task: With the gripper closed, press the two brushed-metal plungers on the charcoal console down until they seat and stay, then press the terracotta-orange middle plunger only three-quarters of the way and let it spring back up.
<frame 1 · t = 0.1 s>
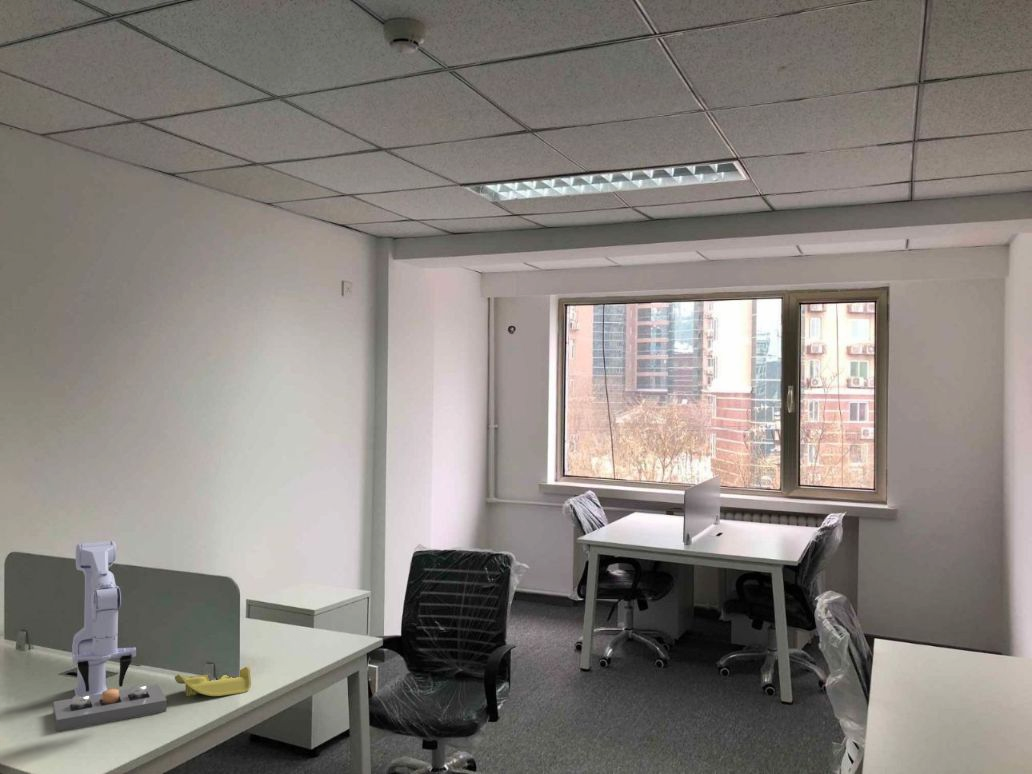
hand: (104, 687, 207), 10 cm above the table, fingers open, 7 cm apart
console: (110, 712, 216), on the table
orange plunger: (110, 696, 216), point 4 cm above the table, slide at 0.0 cm
plunger a: (138, 691, 220), point 4 cm above the table, slide at 0.0 cm
plunger b: (81, 701, 212), point 4 cm above the table, slide at 0.0 cm
plastic component: (212, 692, 232), on the table
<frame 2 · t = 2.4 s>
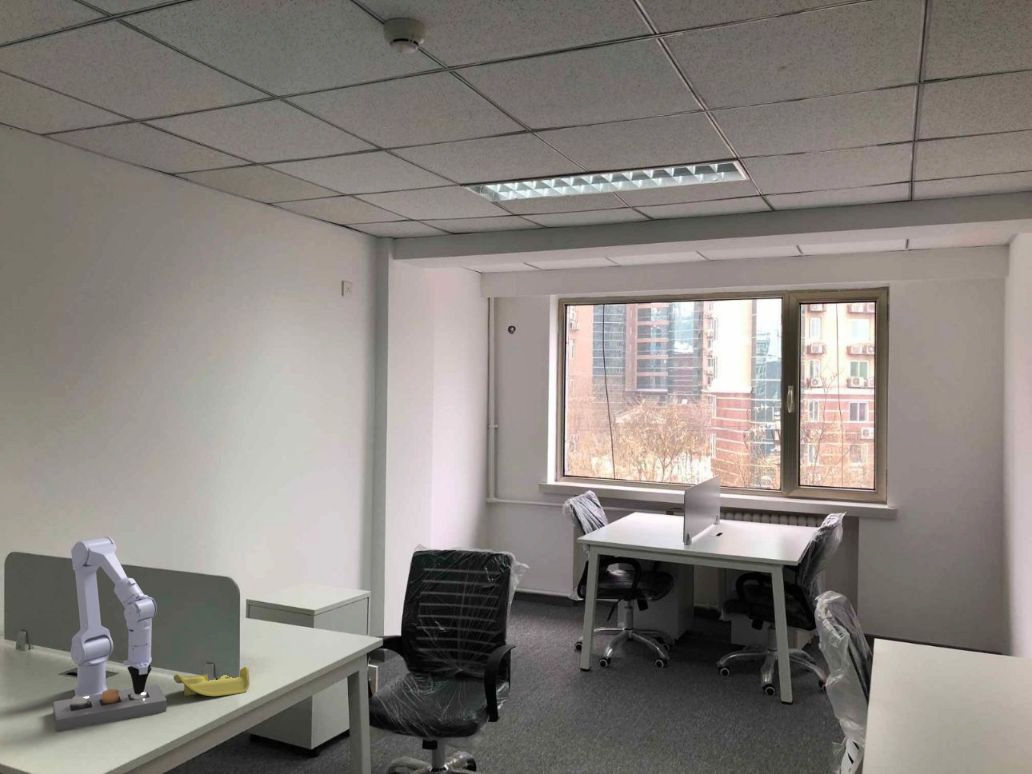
hand: (138, 692, 220), 4 cm above the table, fingers closed, pressing on plunger a
plunger a: (138, 697, 220), point 3 cm above the table, slide at 1.6 cm, touching gripper
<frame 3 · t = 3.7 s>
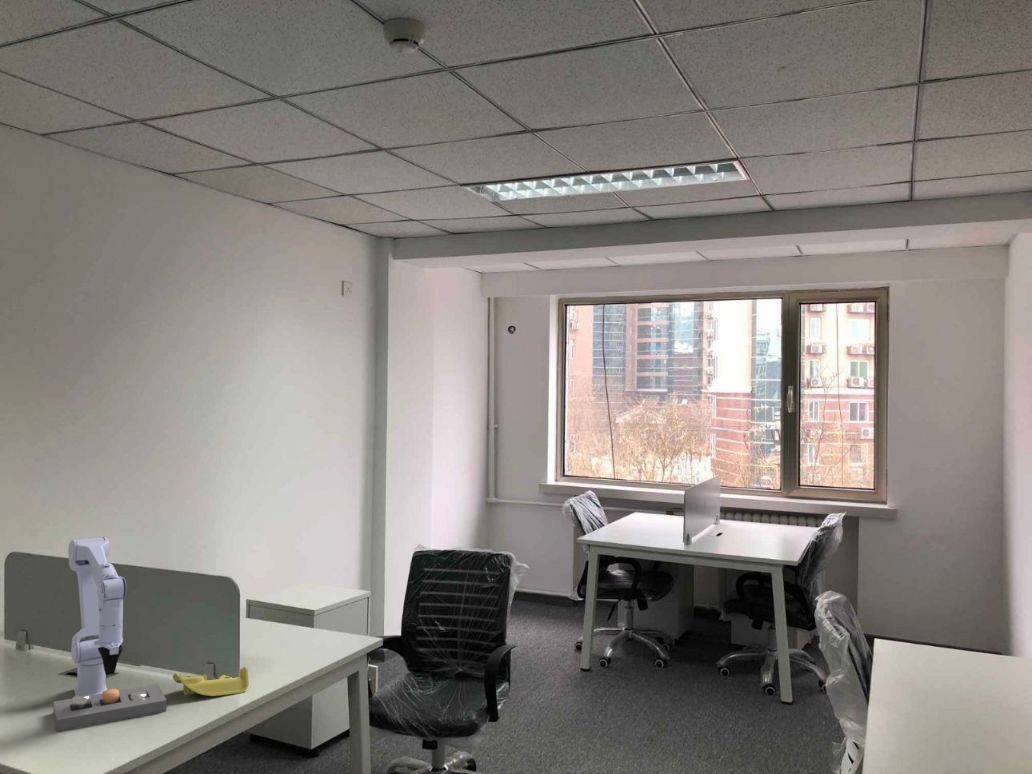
hand: (109, 673, 216), 10 cm above the table, fingers closed
plunger a: (138, 698, 220), point 2 cm above the table, slide at 2.0 cm
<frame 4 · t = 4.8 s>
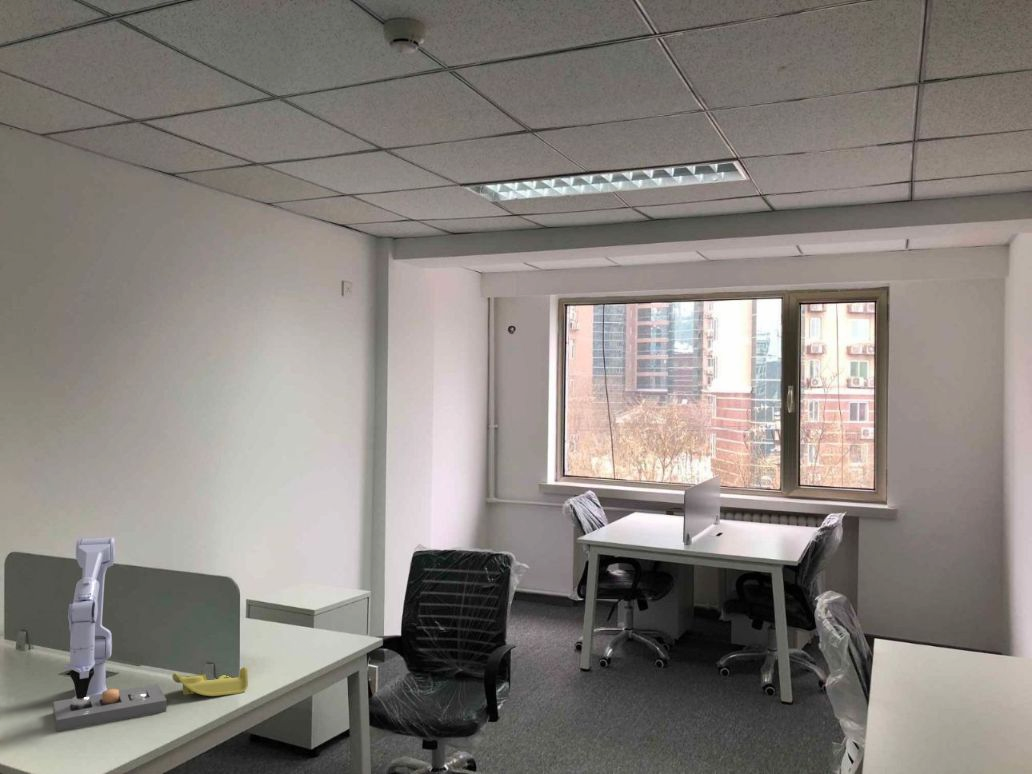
hand: (81, 697, 212), 5 cm above the table, fingers closed, pressing on plunger b
plunger b: (81, 701, 212), point 4 cm above the table, slide at 0.2 cm, touching gripper
everything else where it was.
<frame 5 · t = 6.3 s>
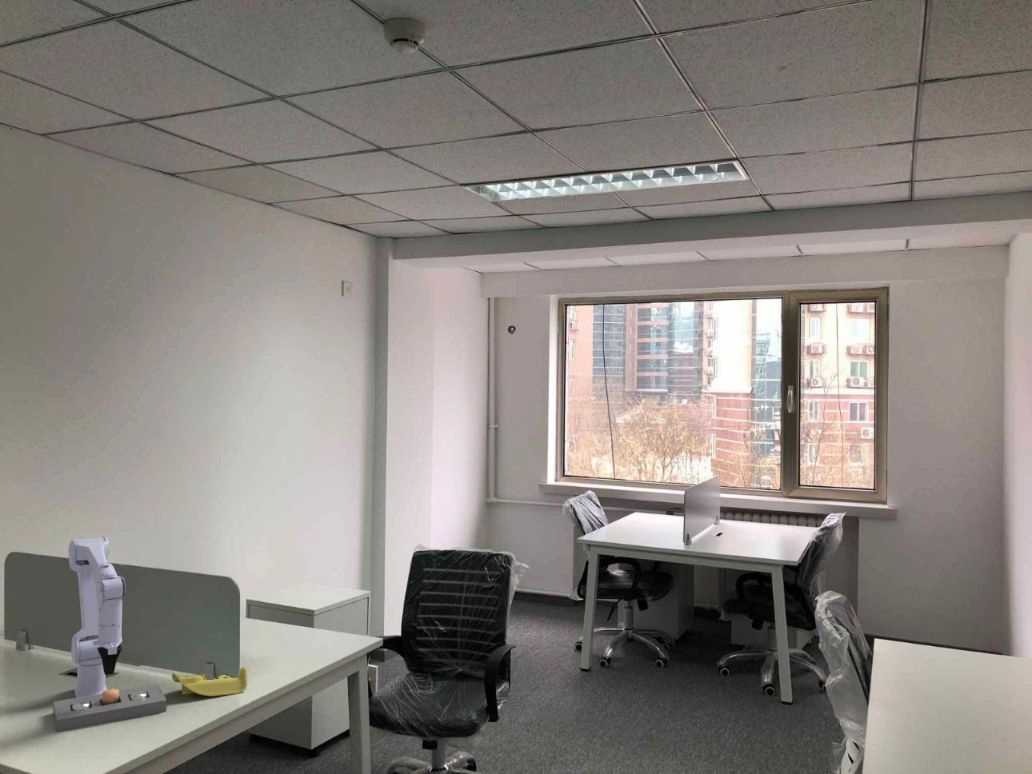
hand: (108, 673, 216), 10 cm above the table, fingers closed
plunger b: (81, 708, 212), point 2 cm above the table, slide at 2.0 cm
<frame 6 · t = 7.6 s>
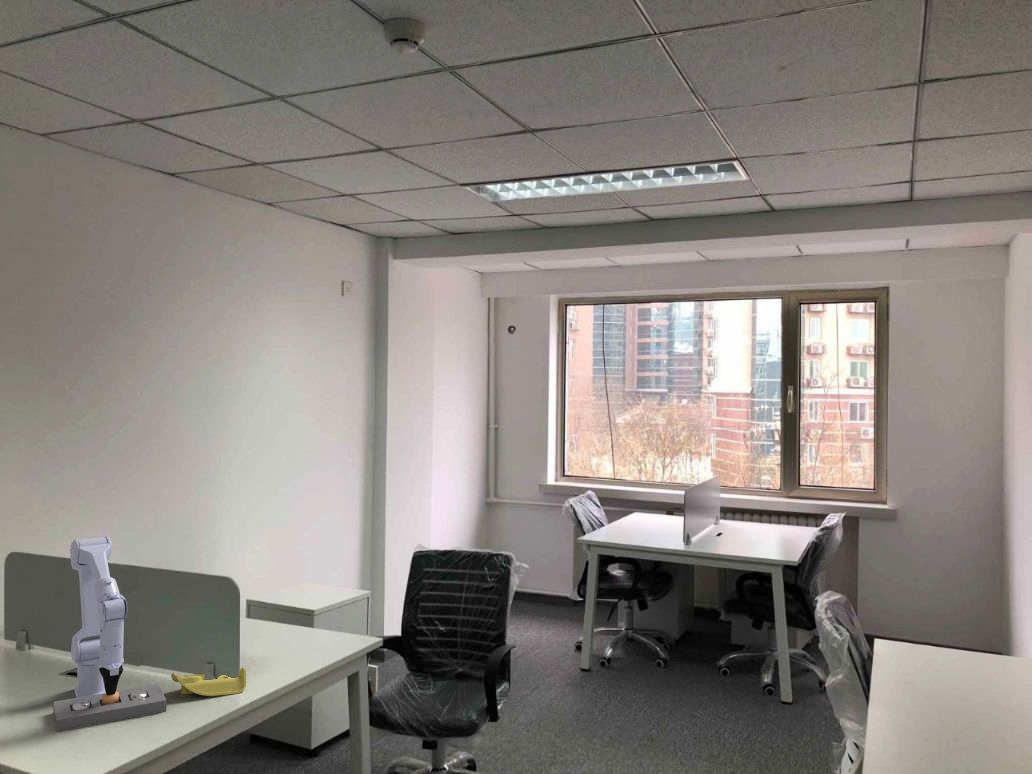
hand: (110, 694, 216), 5 cm above the table, fingers closed, pressing on orange plunger
orange plunger: (110, 698, 216), point 4 cm above the table, slide at 0.7 cm, touching gripper
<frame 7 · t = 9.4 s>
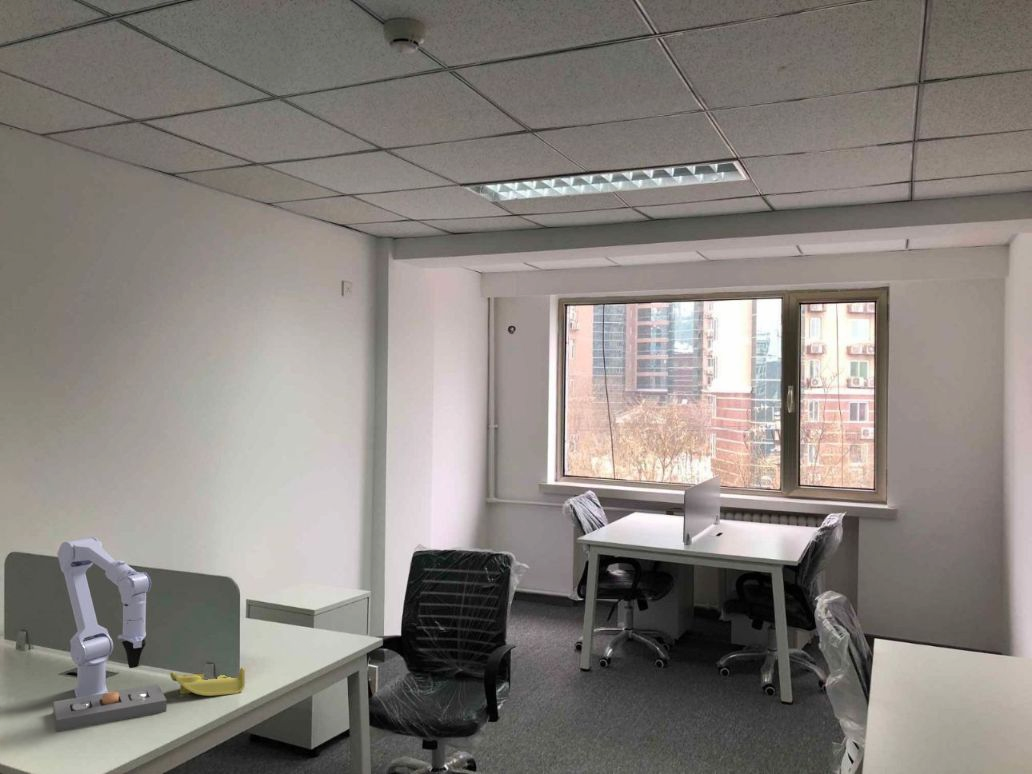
hand: (133, 667, 221), 10 cm above the table, fingers closed
orange plunger: (110, 699, 216), point 4 cm above the table, slide at 0.8 cm
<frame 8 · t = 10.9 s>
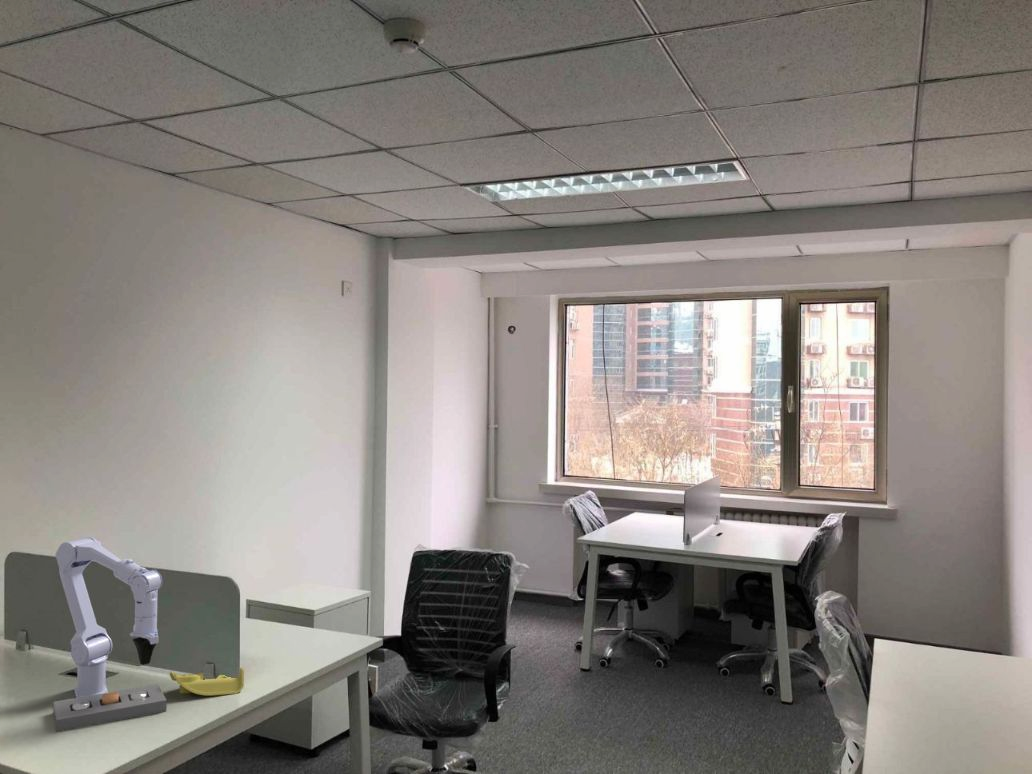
hand: (144, 663, 224), 10 cm above the table, fingers closed
at the end: plunger a slide at 2.0 cm; plunger b slide at 2.0 cm; orange plunger slide at 0.8 cm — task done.
